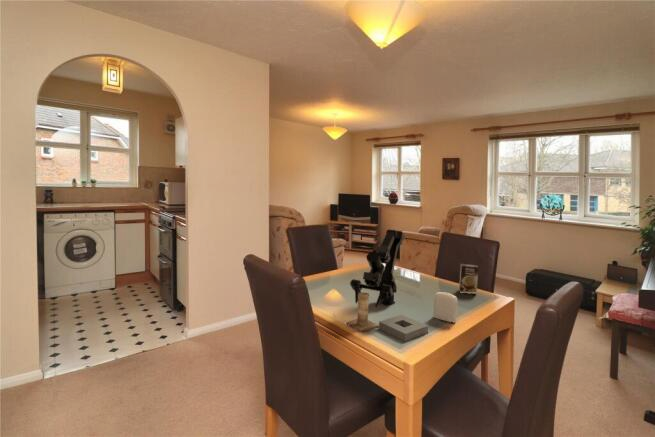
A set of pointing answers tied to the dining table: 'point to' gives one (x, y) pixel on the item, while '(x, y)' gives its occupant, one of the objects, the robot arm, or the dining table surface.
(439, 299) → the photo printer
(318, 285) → the dining table surface
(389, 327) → the holder
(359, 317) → the dowel
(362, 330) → the mat
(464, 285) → the coffee box
